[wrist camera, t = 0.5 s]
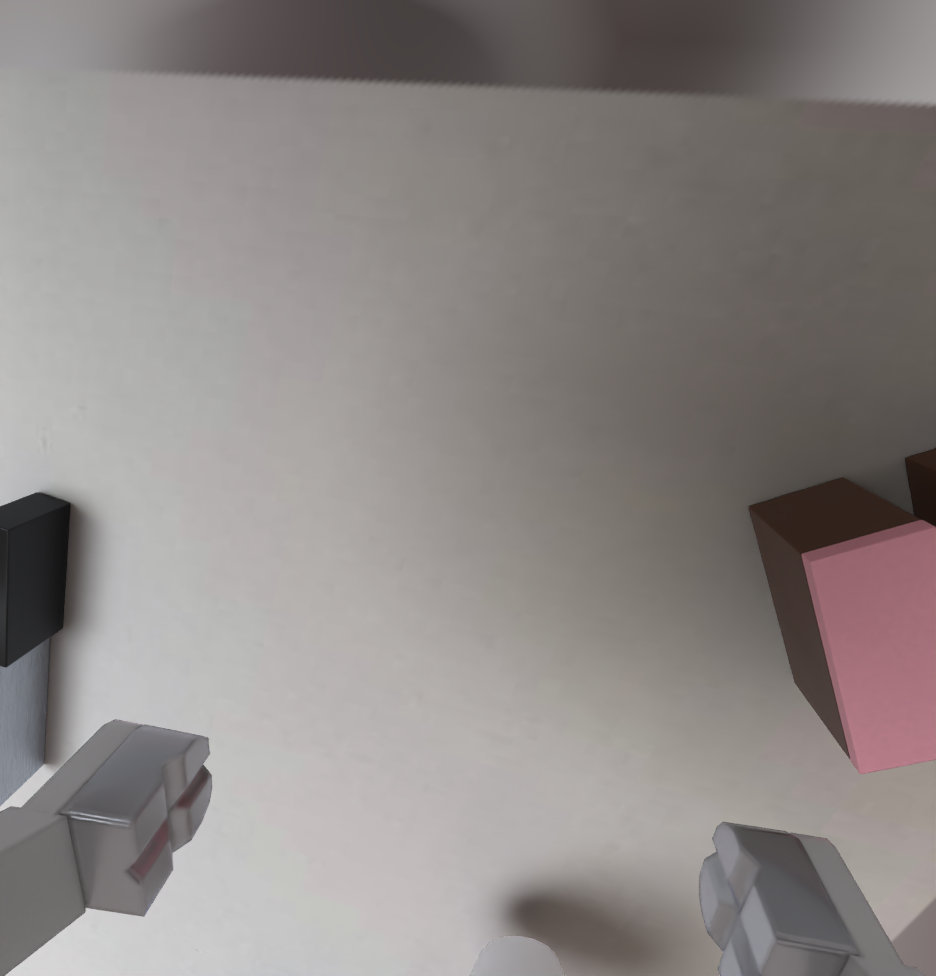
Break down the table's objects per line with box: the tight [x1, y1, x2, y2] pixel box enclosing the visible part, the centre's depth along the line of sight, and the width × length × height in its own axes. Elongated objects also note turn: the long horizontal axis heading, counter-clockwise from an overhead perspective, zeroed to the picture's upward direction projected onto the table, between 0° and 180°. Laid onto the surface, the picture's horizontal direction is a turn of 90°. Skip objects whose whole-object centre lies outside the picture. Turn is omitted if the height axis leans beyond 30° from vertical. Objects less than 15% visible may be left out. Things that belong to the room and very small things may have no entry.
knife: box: [0, 493, 70, 806], centre depth 29 cm, size 19×2×4 cm, turn 162°
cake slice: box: [749, 478, 936, 774], centre depth 22 cm, size 10×4×6 cm, turn 22°
